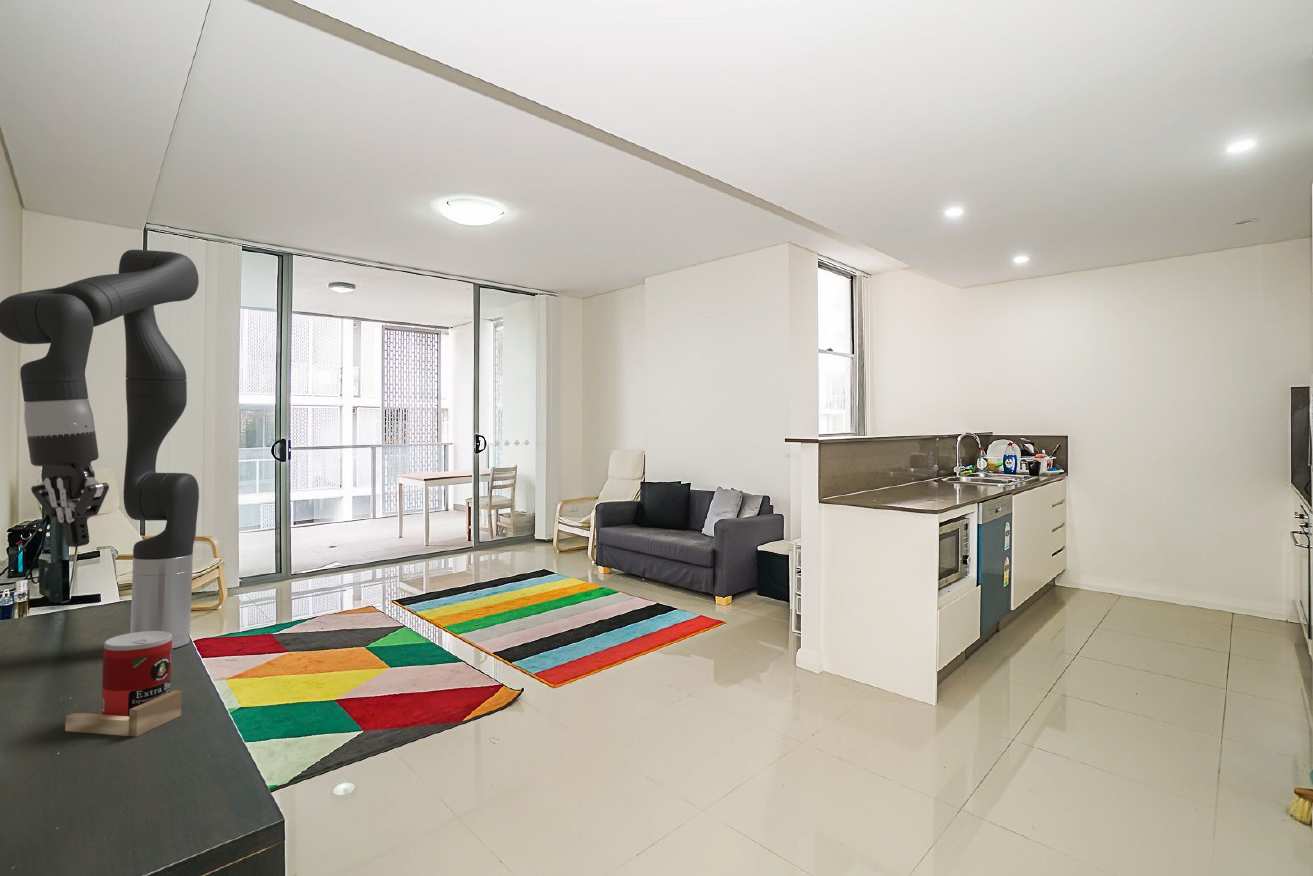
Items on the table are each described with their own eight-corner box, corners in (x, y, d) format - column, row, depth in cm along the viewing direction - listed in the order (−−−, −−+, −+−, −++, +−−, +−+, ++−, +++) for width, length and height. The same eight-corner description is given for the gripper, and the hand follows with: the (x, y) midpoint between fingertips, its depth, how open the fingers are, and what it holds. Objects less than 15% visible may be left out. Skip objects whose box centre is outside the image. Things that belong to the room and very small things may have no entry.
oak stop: (65, 731, 87) (66, 704, 87) (114, 710, 94) (115, 686, 94) (136, 736, 86) (137, 710, 86) (181, 715, 93) (181, 690, 93)
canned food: (134, 728, 89) (137, 647, 89) (85, 723, 90) (88, 643, 90) (183, 707, 96) (186, 632, 96) (137, 702, 97) (140, 629, 98)
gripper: (121, 427, 98) (136, 540, 100) (58, 430, 101) (74, 538, 103) (65, 432, 91) (82, 553, 92) (-1, 435, 94) (17, 551, 96)
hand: (78, 545), depth 98 cm, fingers closed
